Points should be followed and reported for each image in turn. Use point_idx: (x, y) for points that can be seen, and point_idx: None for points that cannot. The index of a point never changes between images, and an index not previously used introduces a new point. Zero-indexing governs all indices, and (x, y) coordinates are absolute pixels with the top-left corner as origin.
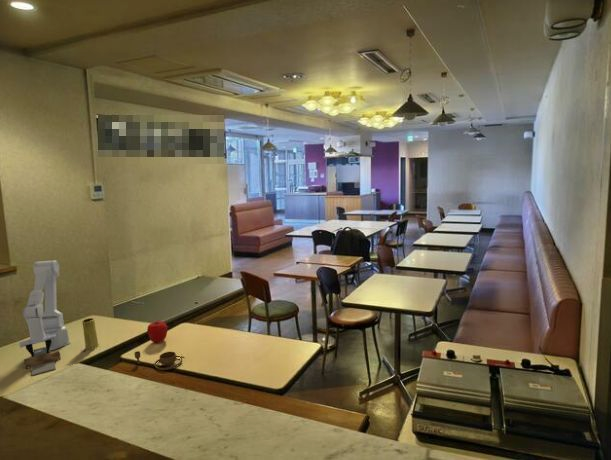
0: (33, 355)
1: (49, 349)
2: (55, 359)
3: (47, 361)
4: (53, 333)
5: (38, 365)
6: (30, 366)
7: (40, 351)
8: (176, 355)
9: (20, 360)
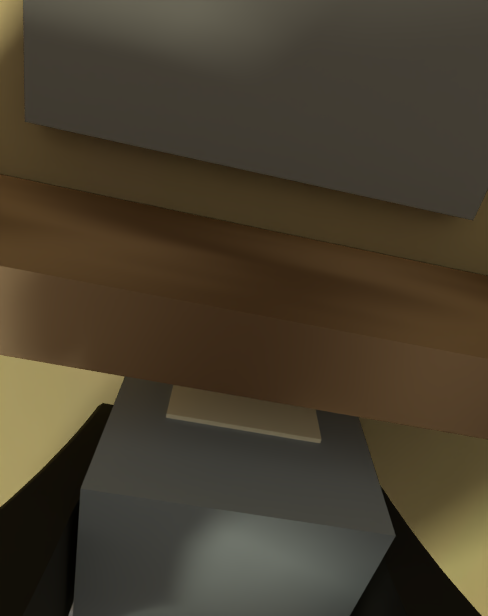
0: None
1: None
2: (2, 181)
3: (163, 216)
4: None
5: (362, 160)
6: (465, 276)
7: (224, 531)
8: None
9: None
